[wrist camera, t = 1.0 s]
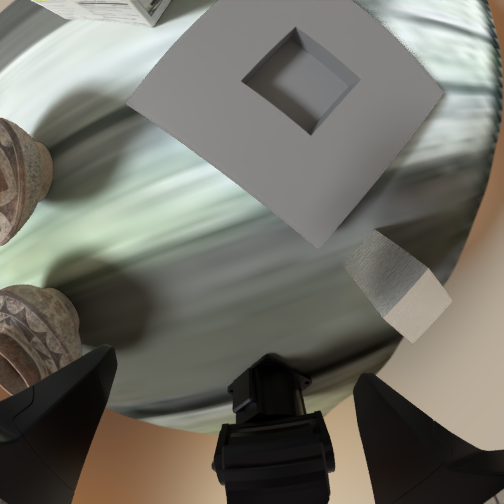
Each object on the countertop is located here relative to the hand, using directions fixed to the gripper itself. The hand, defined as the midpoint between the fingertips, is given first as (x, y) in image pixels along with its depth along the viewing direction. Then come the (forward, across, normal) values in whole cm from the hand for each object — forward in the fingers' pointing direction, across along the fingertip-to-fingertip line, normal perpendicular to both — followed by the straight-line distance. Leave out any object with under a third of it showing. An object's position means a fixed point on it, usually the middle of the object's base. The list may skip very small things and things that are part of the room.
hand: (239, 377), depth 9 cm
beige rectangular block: (+13, -11, 0) cm, 17 cm away
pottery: (+14, +19, +3) cm, 24 cm away
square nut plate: (+13, -2, -13) cm, 18 cm away
